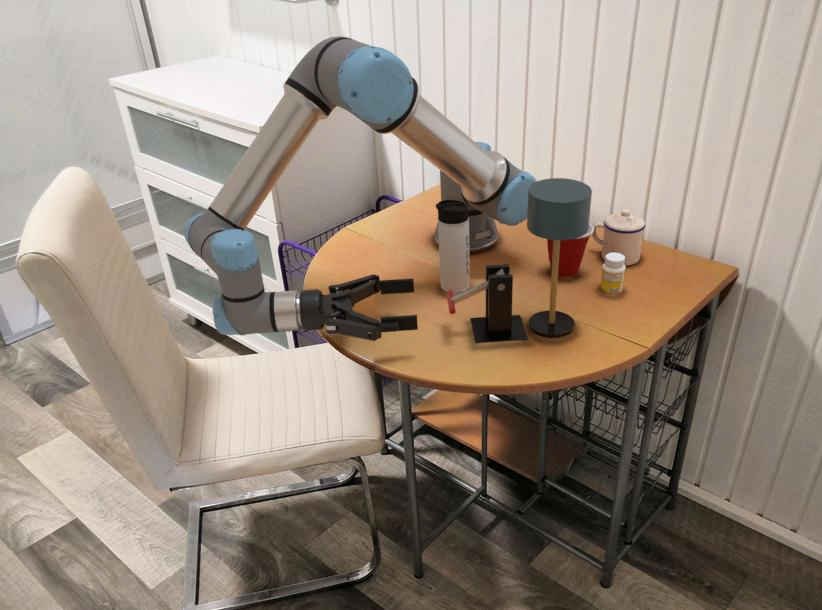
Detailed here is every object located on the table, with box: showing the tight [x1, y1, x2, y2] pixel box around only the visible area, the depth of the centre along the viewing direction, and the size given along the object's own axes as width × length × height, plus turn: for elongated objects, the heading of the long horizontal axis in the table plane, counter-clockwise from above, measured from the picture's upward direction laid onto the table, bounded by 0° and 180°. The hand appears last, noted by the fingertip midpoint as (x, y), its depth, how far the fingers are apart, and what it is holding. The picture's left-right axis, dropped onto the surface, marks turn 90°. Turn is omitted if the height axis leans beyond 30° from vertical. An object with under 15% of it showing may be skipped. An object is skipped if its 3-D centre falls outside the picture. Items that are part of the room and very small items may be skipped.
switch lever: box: [445, 269, 505, 315], centre depth 138 cm, size 12×7×2 cm, turn 95°
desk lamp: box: [526, 177, 593, 339], centre depth 137 cm, size 11×11×29 cm
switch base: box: [470, 263, 528, 344], centre depth 140 cm, size 10×9×14 cm
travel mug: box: [435, 200, 471, 294], centre depth 153 cm, size 6×7×20 cm
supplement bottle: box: [600, 253, 627, 294], centre depth 154 cm, size 5×5×8 cm
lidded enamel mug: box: [591, 208, 646, 267], centre depth 167 cm, size 12×9×12 cm
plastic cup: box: [546, 222, 594, 278], centre depth 160 cm, size 11×11×12 cm
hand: (415, 303), depth 139 cm, fingers open, 13 cm apart
